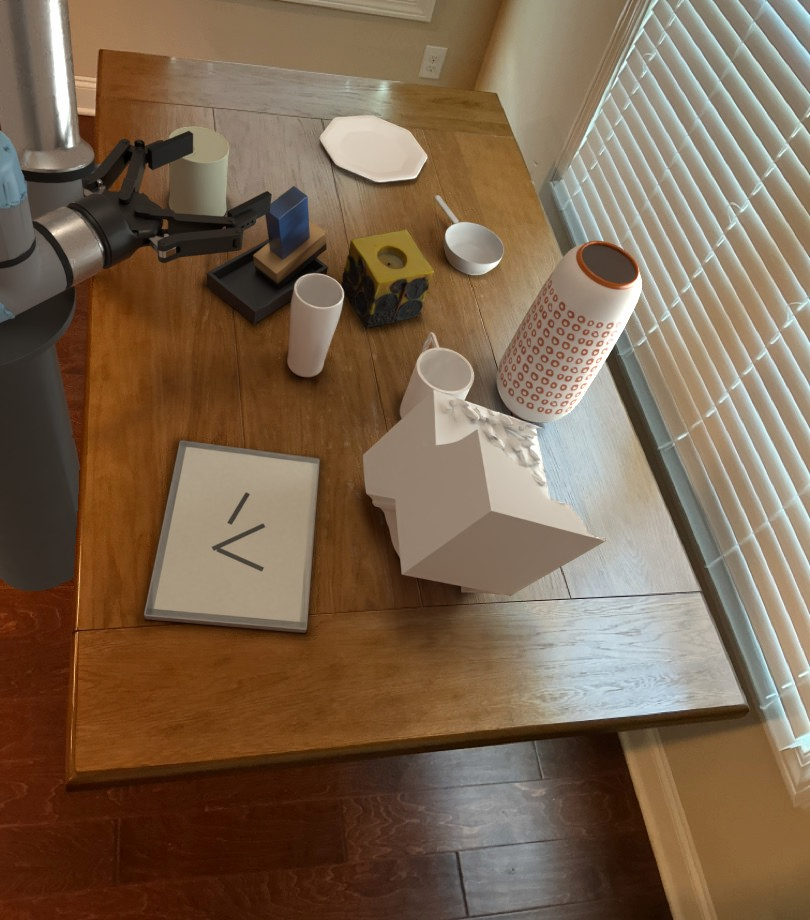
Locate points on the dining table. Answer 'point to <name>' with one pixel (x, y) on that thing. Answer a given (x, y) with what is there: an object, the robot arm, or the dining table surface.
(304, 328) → the drinking glass
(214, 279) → the tray
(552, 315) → the patterned vase
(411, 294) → the candle
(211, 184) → the can
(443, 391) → the cup
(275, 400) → the dining table surface
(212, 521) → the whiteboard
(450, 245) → the small pan
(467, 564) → the tissue box
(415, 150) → the plate
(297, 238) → the blue block with base
